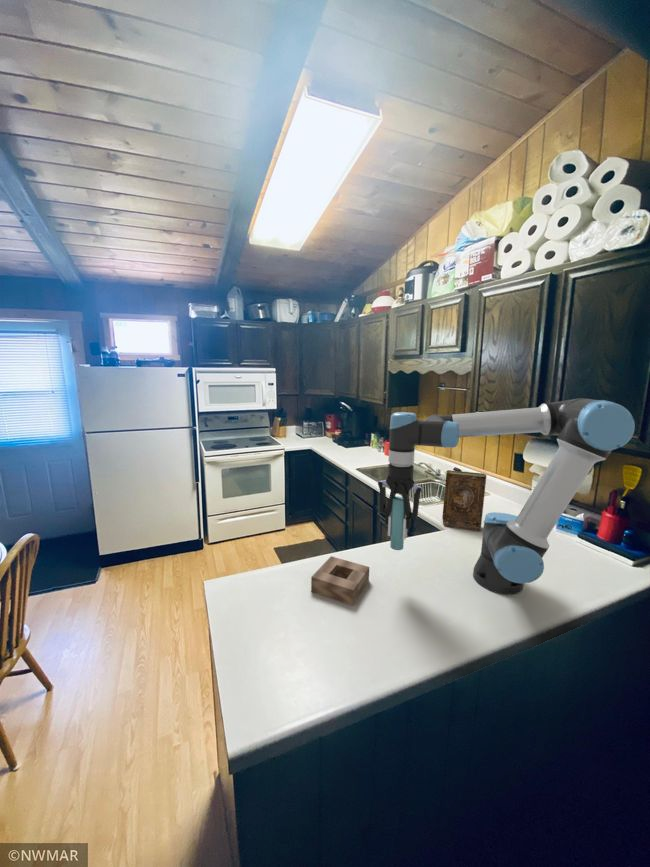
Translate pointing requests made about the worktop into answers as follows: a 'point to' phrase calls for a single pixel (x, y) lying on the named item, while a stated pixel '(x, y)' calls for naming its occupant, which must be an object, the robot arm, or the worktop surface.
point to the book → (464, 500)
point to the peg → (397, 523)
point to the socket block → (340, 580)
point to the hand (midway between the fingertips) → (397, 535)
